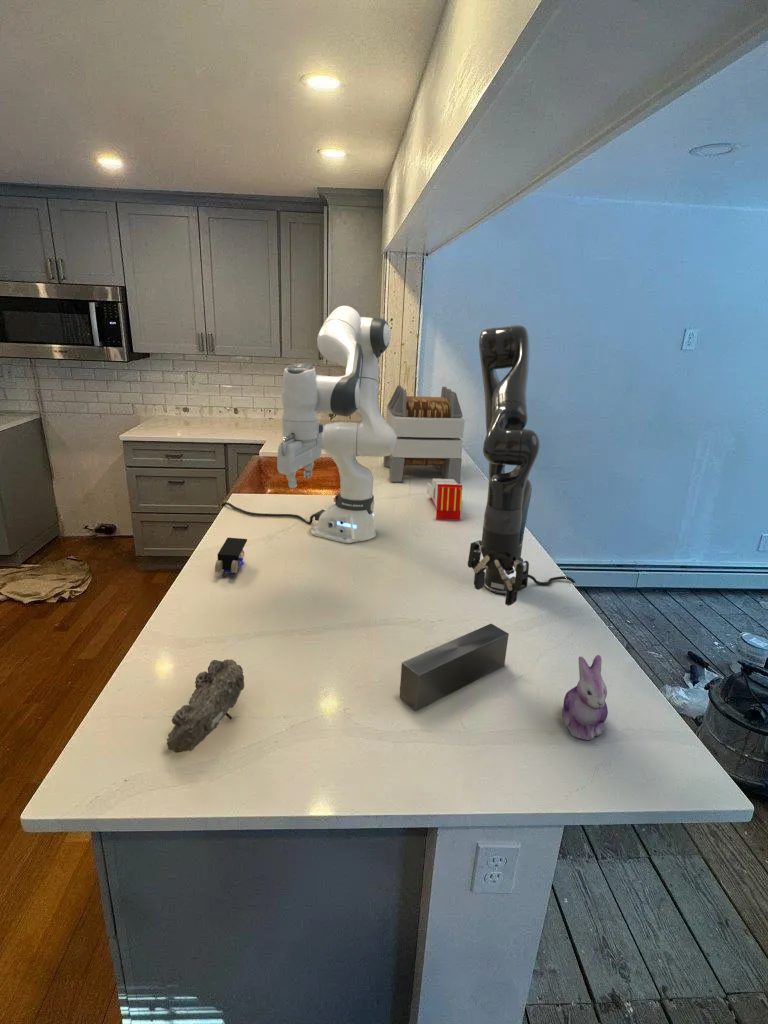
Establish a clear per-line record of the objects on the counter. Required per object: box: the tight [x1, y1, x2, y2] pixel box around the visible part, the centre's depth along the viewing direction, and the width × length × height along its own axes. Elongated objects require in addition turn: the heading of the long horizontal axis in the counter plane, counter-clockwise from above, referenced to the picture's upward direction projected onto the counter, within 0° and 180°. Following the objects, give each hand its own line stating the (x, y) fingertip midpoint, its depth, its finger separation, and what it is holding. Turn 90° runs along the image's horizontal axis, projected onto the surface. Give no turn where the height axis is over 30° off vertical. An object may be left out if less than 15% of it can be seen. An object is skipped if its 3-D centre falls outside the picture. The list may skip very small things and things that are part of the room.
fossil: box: [166, 658, 245, 754], centre depth 106 cm, size 22×10×15 cm
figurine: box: [561, 654, 609, 741], centre depth 108 cm, size 9×10×15 cm
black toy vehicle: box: [214, 537, 248, 578], centre depth 166 cm, size 7×8×15 cm
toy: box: [426, 478, 463, 521], centre depth 226 cm, size 12×13×30 cm
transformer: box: [383, 384, 465, 484], centre depth 268 cm, size 34×33×41 cm
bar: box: [399, 623, 510, 712], centre depth 120 cm, size 26×5×8 cm, turn 128°
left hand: (300, 482), depth 148 cm, fingers open, 8 cm apart
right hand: (493, 596), depth 121 cm, fingers open, 8 cm apart
